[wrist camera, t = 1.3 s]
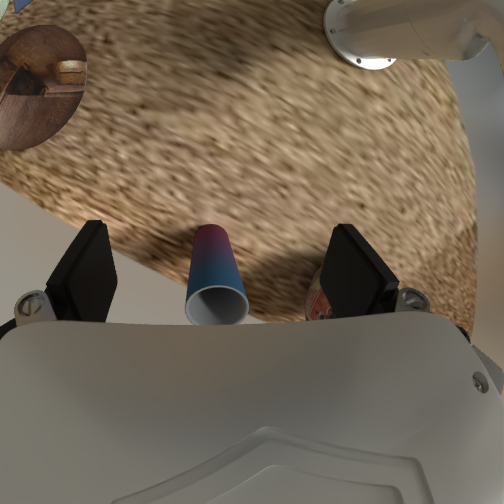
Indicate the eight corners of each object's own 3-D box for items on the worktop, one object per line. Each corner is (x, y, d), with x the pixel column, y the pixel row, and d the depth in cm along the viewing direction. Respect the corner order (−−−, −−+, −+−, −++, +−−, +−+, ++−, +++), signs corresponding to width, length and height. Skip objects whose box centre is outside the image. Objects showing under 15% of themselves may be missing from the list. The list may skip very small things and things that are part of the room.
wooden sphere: (8, 123, 24) (-58, 150, 12) (42, 28, 18) (-22, 17, 5) (81, 148, 30) (21, 185, 17) (124, 45, 24) (75, 21, 11)
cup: (183, 252, 41) (179, 326, 29) (194, 213, 38) (192, 279, 26) (225, 261, 44) (237, 334, 31) (239, 224, 40) (258, 292, 28)
